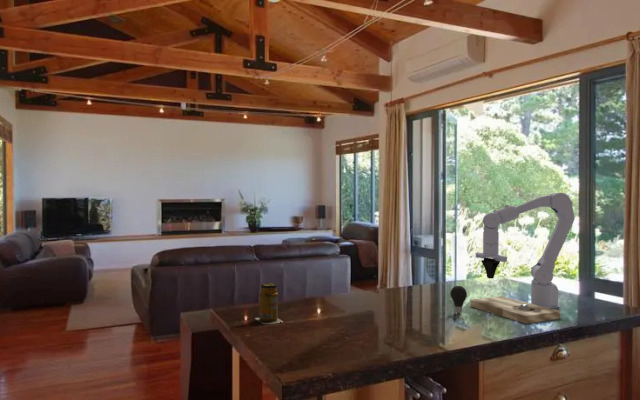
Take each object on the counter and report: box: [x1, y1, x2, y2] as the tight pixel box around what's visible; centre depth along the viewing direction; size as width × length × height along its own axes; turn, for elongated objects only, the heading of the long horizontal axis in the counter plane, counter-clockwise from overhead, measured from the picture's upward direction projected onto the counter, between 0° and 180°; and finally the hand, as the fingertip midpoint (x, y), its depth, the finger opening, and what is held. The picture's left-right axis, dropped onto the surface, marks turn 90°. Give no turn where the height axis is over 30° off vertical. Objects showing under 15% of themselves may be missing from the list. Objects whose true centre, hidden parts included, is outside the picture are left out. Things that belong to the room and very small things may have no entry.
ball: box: [519, 304, 531, 311], centre depth 162 cm, size 4×4×4 cm
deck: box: [470, 296, 561, 325], centre depth 167 cm, size 16×26×2 cm, turn 24°
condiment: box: [254, 282, 284, 325], centre depth 153 cm, size 7×8×12 cm
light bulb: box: [450, 285, 468, 315], centre depth 164 cm, size 6×6×10 cm
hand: (490, 278), depth 181 cm, fingers closed
